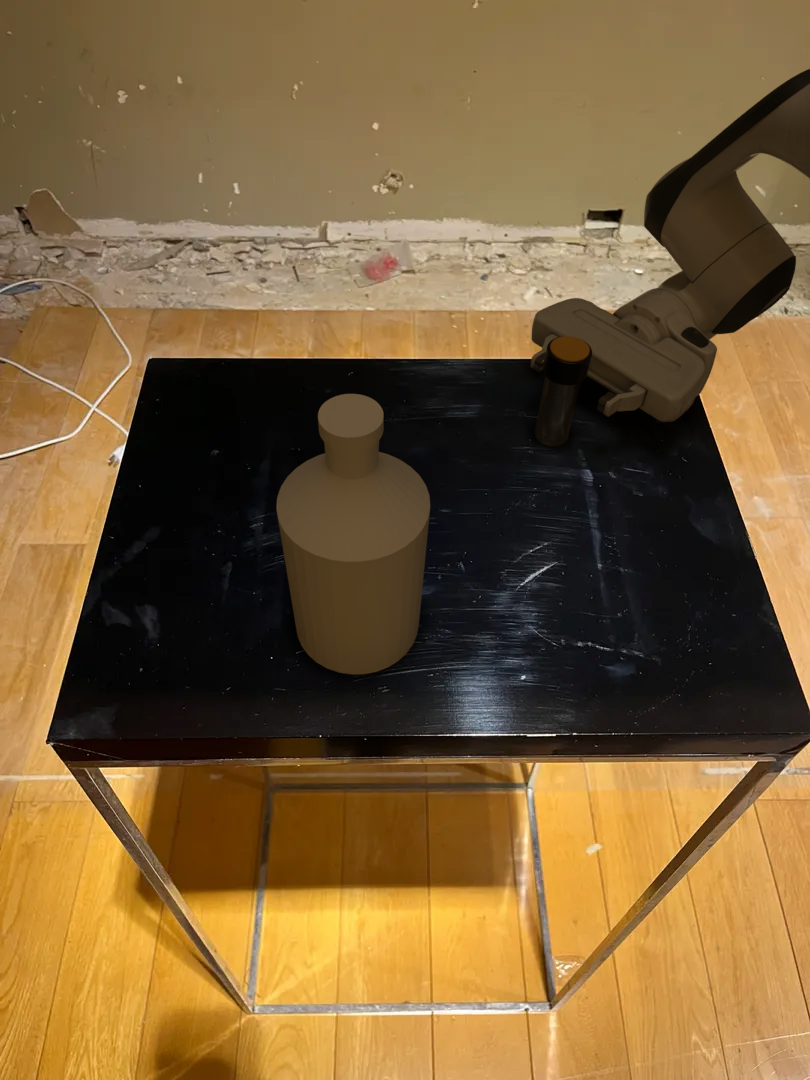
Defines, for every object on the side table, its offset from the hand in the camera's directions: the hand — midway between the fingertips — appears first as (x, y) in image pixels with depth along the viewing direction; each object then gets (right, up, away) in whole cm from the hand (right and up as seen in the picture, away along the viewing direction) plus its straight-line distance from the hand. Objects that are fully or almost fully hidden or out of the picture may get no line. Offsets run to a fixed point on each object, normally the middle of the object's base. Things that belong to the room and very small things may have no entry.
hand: (568, 386), depth 89 cm
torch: (-1, -5, +5) cm, 7 cm away
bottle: (-22, -24, -12) cm, 35 cm away
